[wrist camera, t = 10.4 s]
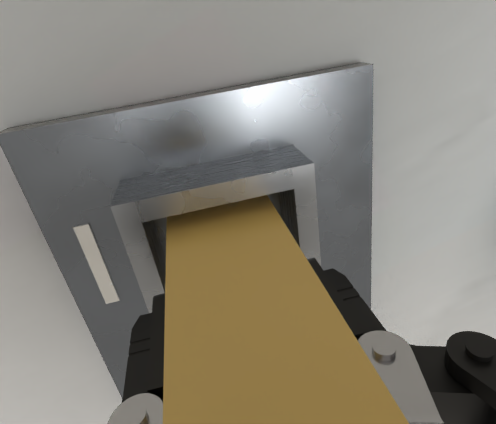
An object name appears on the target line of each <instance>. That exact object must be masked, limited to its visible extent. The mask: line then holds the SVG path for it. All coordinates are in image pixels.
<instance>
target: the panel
mask: <svg viewBox="0 0 496 424" xmlns="http://www.w3.org/2000/svg"><path fill="white" fill-rule="evenodd" d="M372 130H373V64H368V63H356V64H351V65H346V66H340V67H335V68H329V69H324V70H319V71H313V72H308V73H303V74H297V75H292V76H286V77H281V78H276V79H270V80H265V81H260V82H254V83H249V84H244V85H238V86H233V87H227V88H222V89H217V90H211V91H206V92H201V93H195V94H190V95H184V96H179V97H174V98H168V99H163V100H158V101H152V102H147V103H142V104H136V105H131V106H125V107H120V108H115V109H109V110H104V111H99V112H93V113H88V114H82V115H77V116H72V117H66V118H61V119H56V120H50V121H45V122H39V123H34V124H29V125H23V126H18V127H13V128H7V129H5V130H4V131H2V132H0V145H1V147H2V149H3V151H4V154H5V156H6V158H7V160H8V162H9V164H10V166H11V168H12V170H13V172H14V174H15V176H16V179H17V181H18V183H19V185H20V187H21V189H22V191H23V193H24V195H25V197H26V199H27V201H28V203H29V206H30V208H31V210H32V212H33V214H34V216H35V218H36V220H37V222H38V224H39V226H40V228H41V230H42V233H43V235H44V237H45V239H46V241H47V243H48V245H49V247H50V249H51V251H52V253H53V255H54V258H55V260H56V262H57V264H58V266H59V268H60V270H61V272H62V274H63V276H64V278H65V280H66V282H67V285H68V287H69V289H70V291H71V293H72V295H73V297H74V299H75V301H76V303H77V305H78V307H79V309H80V312H81V314H82V316H83V318H84V320H85V322H86V324H87V326H88V328H89V330H90V332H91V334H92V337H93V339H94V341H95V343H96V345H97V347H98V349H99V351H100V353H101V355H102V357H103V359H104V361H105V364H106V366H107V368H108V370H109V372H110V374H111V376H112V378H113V380H114V382H115V384H116V386H117V388H118V391H119V393H120V395H121V397H122V399H123V391H124V384H125V376H126V368H127V361H128V357H129V354H128V353H129V346H130V338H131V331H132V328H133V326H134V324H135V323H136V321H137V319H138V318H139V316H140V315H144V314H148V313H152V304H153V296H155V295H159V294H164V293H165V277H166V224H167V217H169V216H174V215H178V214H183V213H187V212H192V211H196V210H201V209H205V208H210V207H214V206H219V205H223V204H228V203H233V202H237V201H242V200H246V199H251V198H255V197H260V196H264V195H267V196H268V197H269V199H270V201H271V202H272V204H273V205H274V207H275V209H276V210H277V212H278V213H279V215H280V217H281V218H282V220H283V221H284V223H285V225H286V226H287V228H288V229H289V231H290V233H291V234H292V236H293V238H294V239H295V241H296V242H297V244H298V246H299V247H300V249H301V250H302V252H303V254H304V255H305V257H306V258H307V259H309V258H315V259H316V260H317V262H318V263H319V265H320V266H321V268H322V269H323V271H324V270H328V269H332V268H333V269H335V270H337V271H338V272H340V273H342V274H343V275H345V276H346V277H347V278H348V280H349V281H350V283H351V284H352V285H353V287H354V288H355V289H356V291H357V292H358V293H359V295H360V297H362V299H363V300H364V301H365V303H366V304H367V305H368V307H369V308H370V310H371V226H372Z"/></svg>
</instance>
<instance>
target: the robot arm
mask: <svg viewBox="0 0 496 424" xmlns="http://www.w3.org/2000/svg"><path fill="white" fill-rule="evenodd" d="M307 260H308V262H309V263H310V265H311V266H312V268H313V270H314V271H315V273H316V275H317V276H318V278H319V279H320V281H321V283H322V284H323V286H324V287H325V289H326V291H327V292H328V294H329V295H330V297H331V299H332V300H333V302H334V304H335V305H336V307H337V308H338V310H339V312H340V313H341V315H342V316H343V318H344V320H345V321H346V323H347V324H348V326H349V328H350V329H351V331H352V332H353V334H354V336H355V337H356V339H357V341H358V342H359V344H360V345H361V347H362V349H363V350H364V352H365V353H366V355H367V357H368V358H369V360H370V361H371V363H372V365H373V366H374V368H375V370H376V371H377V373H378V374H379V376H380V378H381V379H382V381H383V382H384V384H385V386H386V387H387V389H388V390H389V392H390V394H391V395H392V397H393V398H394V400H395V402H396V403H397V405H398V407H399V408H400V410H401V411H402V413H403V415H404V416H405V418H406V419H407V421H408V423H409V424H496V339H494V338H492V337H490V336H488V335H485V334H482V333H478V332H472V331H463V332H458V333H455V334H454V335H452V336H451V337H450V338H449V339H448V341H447V344H446V347H441V346H415V345H410V344H408V343H407V342H406V341H405V340H404V339H403V338H401V337H400V336H398V335H396V334H394V333H391V332H388V331H386V330H385V328H384V327H383V326H382V324H381V323H380V322H379V320H378V319H377V318H376V316H375V315H374V314H373V312H372V311H371V310H370V308H369V307H368V305H367V304H366V303H365V301H364V300H363V299H362V297H360V295H359V293H358V292H357V291H356V289H355V288H354V287H353V285H352V284H351V283H350V281H349V280H348V278H347V277H346V276H345V275H343V274H342V273H340V272H338V271H337V270H335V269H333V268H332V269H328V270H324V271H323V269H322V268H321V266H320V265H319V263H318V262H317V260H316V259H315V258H309V259H307ZM164 330H165V293H164V294H159V295H155V296H153V304H152V313H148V314H144V315H140V316H139V318H138V319H137V321H136V323H135V324H134V326H133V328H132V331H131V338H130V346H129V353H128V354H129V357H128V361H127V368H126V376H125V384H124V391H123V399H122V403H121V404H120V405H119V406H118V407H117V408H116V409H115V411H114V412H113V413H112V415H111V417H110V419H109V421H108V424H163V384H164Z"/></svg>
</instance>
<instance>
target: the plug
mask: <svg viewBox="0 0 496 424" xmlns="http://www.w3.org/2000/svg"><path fill="white" fill-rule="evenodd" d="M163 424H409V423H408V421H407V419H406V418H405V416H404V415H403V413H402V411H401V410H400V408H399V407H398V405H397V403H396V402H395V400H394V398H393V397H392V395H391V394H390V392H389V390H388V389H387V387H386V386H385V384H384V382H383V381H382V379H381V378H380V376H379V374H378V373H377V371H376V370H375V368H374V366H373V365H372V363H371V361H370V360H369V358H368V357H367V355H366V353H365V352H364V350H363V349H362V347H361V345H360V344H359V342H358V341H357V339H356V337H355V336H354V334H353V332H352V331H351V329H350V328H349V326H348V324H347V323H346V321H345V320H344V318H343V316H342V315H341V313H340V312H339V310H338V308H337V307H336V305H335V304H334V302H333V300H332V299H331V297H330V295H329V294H328V292H327V291H326V289H325V287H324V286H323V284H322V283H321V281H320V279H319V278H318V276H317V275H316V273H315V271H314V270H313V268H312V266H311V265H310V263H309V262H308V260H307V258H306V257H305V255H304V254H303V252H302V250H301V249H300V247H299V246H298V244H297V242H296V241H295V239H294V238H293V236H292V234H291V233H290V231H289V229H288V228H287V226H286V225H285V223H284V221H283V220H282V218H281V217H280V215H279V213H278V212H277V210H276V209H275V207H274V205H273V204H272V202H271V201H270V199H269V197H268V196H267V195H264V196H260V197H255V198H251V199H246V200H242V201H237V202H233V203H228V204H223V205H219V206H214V207H210V208H205V209H201V210H196V211H192V212H187V213H183V214H178V215H174V216H169V217H167V224H166V277H165V330H164V384H163Z"/></svg>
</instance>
